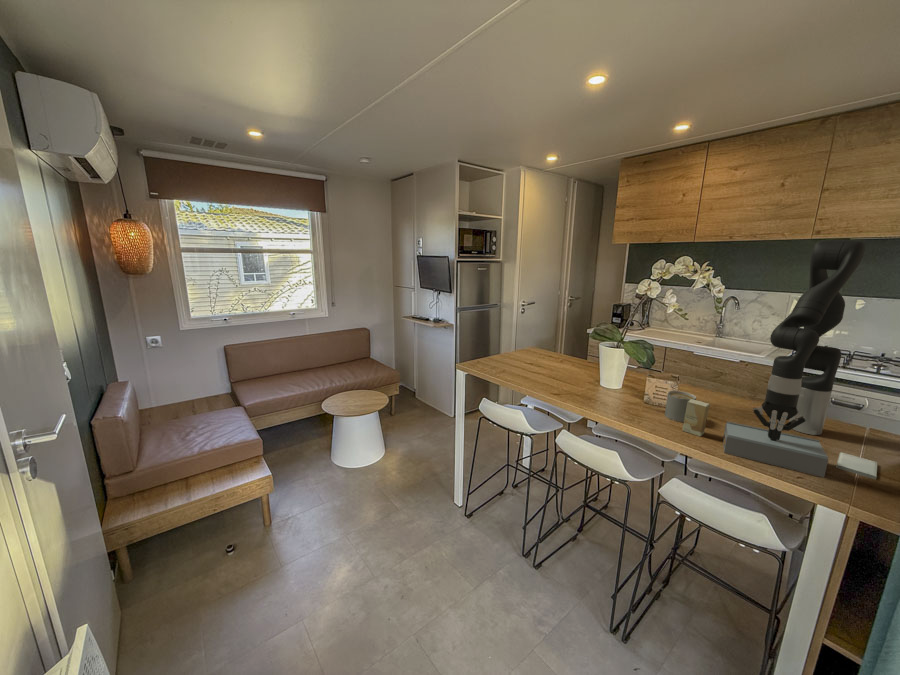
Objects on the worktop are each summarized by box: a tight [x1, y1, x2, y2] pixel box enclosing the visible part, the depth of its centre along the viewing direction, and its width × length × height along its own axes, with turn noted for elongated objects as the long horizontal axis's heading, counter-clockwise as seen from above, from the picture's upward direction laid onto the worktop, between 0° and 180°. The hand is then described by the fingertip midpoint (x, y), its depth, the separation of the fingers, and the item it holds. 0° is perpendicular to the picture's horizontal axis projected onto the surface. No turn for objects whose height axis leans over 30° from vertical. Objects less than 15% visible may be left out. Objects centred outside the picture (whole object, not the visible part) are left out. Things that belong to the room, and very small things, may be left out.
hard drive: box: [835, 452, 878, 480], centre depth 112 cm, size 2×8×12 cm
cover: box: [725, 421, 829, 460], centre depth 117 cm, size 12×24×1 cm, turn 54°
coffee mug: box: [664, 390, 697, 423], centre depth 148 cm, size 13×10×10 cm
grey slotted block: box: [722, 424, 829, 478], centre depth 117 cm, size 12×24×6 cm, turn 54°
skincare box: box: [681, 399, 711, 437], centre depth 133 cm, size 6×4×12 cm
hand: (772, 439), depth 115 cm, fingers closed
